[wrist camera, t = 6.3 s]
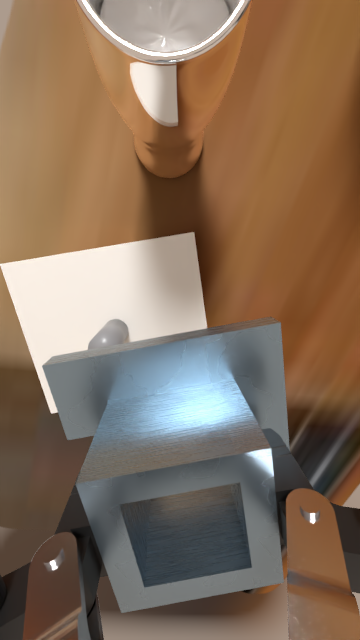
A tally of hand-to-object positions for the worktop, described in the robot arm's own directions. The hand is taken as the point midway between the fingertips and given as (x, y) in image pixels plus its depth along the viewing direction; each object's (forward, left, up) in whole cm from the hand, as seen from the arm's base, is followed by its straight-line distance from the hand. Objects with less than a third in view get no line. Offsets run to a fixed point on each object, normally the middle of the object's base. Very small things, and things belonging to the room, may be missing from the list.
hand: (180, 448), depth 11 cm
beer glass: (-2, -18, -16) cm, 24 cm away
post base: (+6, -2, -16) cm, 17 cm away
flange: (0, 0, -1) cm, 1 cm away
